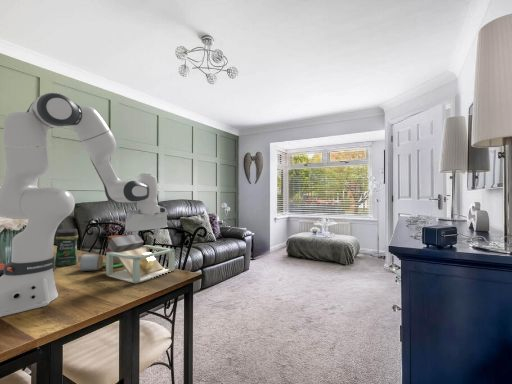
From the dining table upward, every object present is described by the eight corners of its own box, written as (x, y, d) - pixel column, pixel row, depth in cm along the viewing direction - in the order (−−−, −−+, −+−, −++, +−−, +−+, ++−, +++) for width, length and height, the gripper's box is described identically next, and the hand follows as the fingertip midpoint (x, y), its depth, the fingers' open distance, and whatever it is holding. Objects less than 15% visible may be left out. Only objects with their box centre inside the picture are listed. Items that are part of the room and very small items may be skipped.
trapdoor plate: (130, 281, 116) (135, 273, 114) (105, 246, 126) (109, 238, 124) (160, 272, 130) (164, 265, 128) (135, 241, 140) (139, 234, 138)
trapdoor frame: (135, 283, 110) (135, 258, 110) (106, 275, 121) (106, 252, 121) (174, 271, 128) (174, 249, 129) (146, 265, 139) (146, 244, 139)
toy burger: (95, 266, 136) (96, 237, 136) (118, 261, 147) (119, 234, 147) (110, 269, 130) (110, 239, 130) (133, 264, 141) (133, 235, 142)
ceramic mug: (98, 271, 127) (99, 255, 128) (79, 272, 125) (79, 256, 125) (105, 266, 138) (105, 251, 138) (87, 267, 136) (87, 251, 136)
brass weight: (143, 271, 121) (148, 261, 119) (137, 263, 123) (142, 253, 121) (150, 269, 124) (155, 259, 123) (145, 261, 126) (150, 252, 125)
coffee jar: (53, 267, 134) (53, 230, 134) (57, 263, 141) (57, 228, 141) (76, 265, 138) (76, 229, 139) (78, 261, 145) (79, 227, 146)
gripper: (131, 210, 113) (130, 243, 112) (169, 208, 130) (168, 237, 130) (122, 209, 116) (121, 242, 115) (160, 208, 133) (160, 236, 133)
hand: (146, 239), depth 123 cm, fingers open, 8 cm apart
